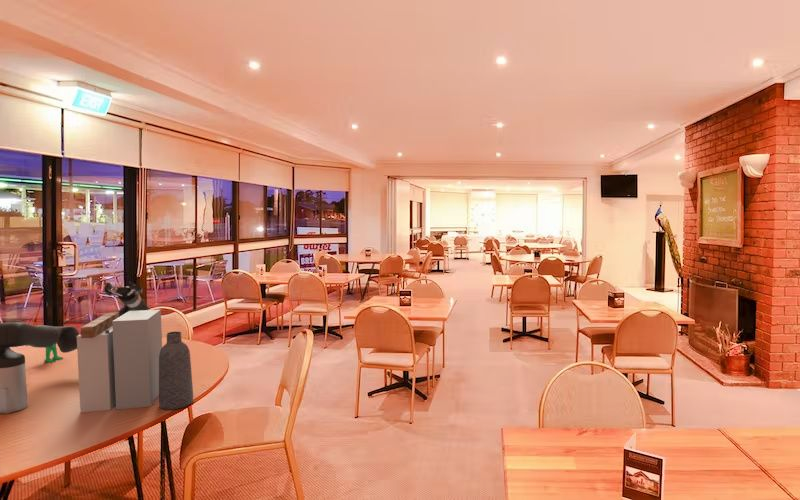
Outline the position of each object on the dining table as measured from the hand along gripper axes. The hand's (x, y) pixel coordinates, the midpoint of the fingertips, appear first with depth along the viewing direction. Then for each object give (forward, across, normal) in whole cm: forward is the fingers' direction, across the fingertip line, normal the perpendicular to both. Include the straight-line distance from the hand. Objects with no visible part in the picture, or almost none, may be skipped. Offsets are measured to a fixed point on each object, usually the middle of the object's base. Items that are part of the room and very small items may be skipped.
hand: (118, 284), depth 205 cm
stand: (-3, +7, +49) cm, 49 cm away
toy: (-61, -46, +16) cm, 78 cm away
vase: (+5, +28, +54) cm, 61 cm away
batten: (+11, 0, +24) cm, 26 cm away
